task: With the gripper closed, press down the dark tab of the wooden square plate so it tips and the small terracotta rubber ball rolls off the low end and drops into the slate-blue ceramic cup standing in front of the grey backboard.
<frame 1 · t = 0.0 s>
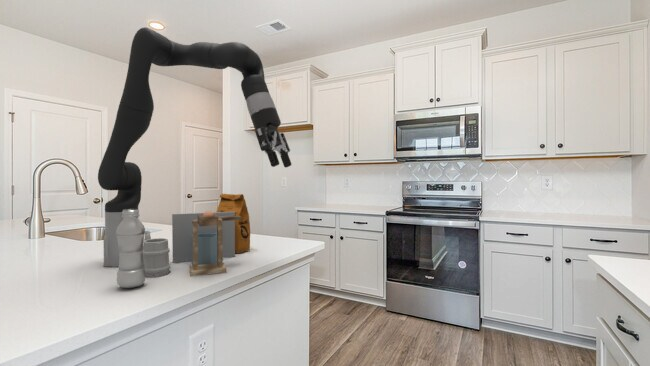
hand: (282, 166, 89), 31 cm above the counter, tool tilted 20°, fingers open, 8 cm apart
ball: (208, 216, 93), point 17 cm above the counter, touching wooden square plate
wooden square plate: (221, 217, 99), point 16 cm above the counter, hinge at 0.0°, touching ball
backboard: (204, 259, 110), on the counter
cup: (205, 263, 106), on the counter
mug: (153, 273, 95), on the counter
stand: (207, 270, 97), on the counter
coffee package: (233, 251, 123), on the counter
plastic bottle: (131, 287, 83), on the counter
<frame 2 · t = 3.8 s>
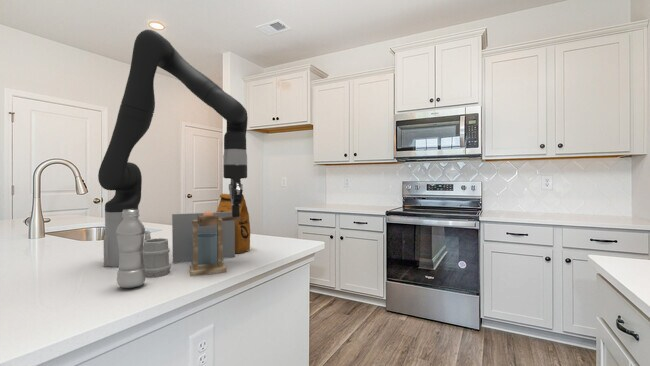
hand: (235, 216, 105), 15 cm above the counter, tool pointing down, fingers closed
ball: (208, 215, 93), point 17 cm above the counter
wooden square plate: (221, 217, 99), point 16 cm above the counter, hinge at 0.7°, touching gripper
everything else where it was.
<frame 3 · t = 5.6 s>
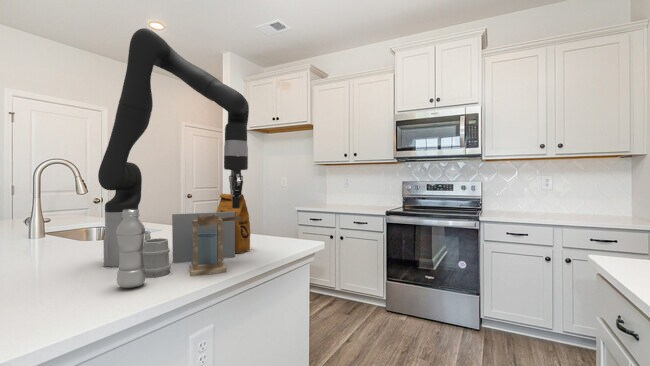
hand: (235, 208, 105), 18 cm above the counter, tool pointing down, fingers closed
ball: (205, 255, 107), point 2 cm above the counter, tilted 134°, touching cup
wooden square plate: (221, 217, 99), point 16 cm above the counter, hinge at 1.6°
everything else where it was.
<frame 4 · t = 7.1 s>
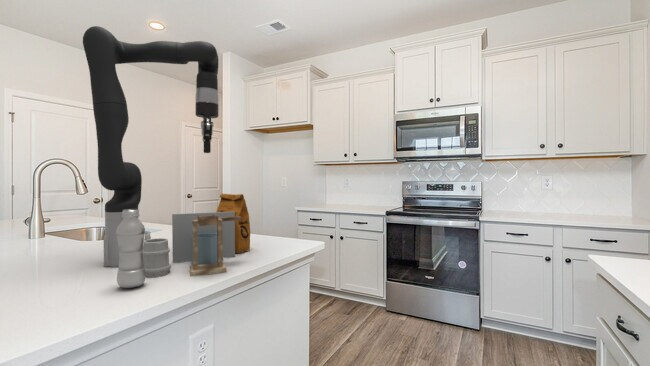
hand: (207, 152, 112), 37 cm above the counter, tool pointing down, fingers closed
ball: (205, 256, 105), point 2 cm above the counter, tilted 62°, touching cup
everything else where it was.
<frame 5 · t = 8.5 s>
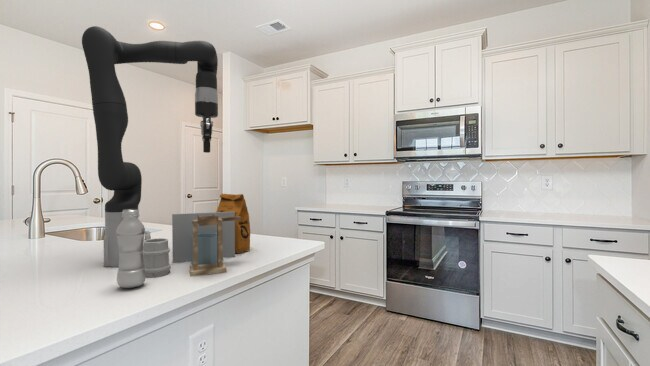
hand: (206, 152, 112), 37 cm above the counter, tool pointing down, fingers closed
ball: (206, 258, 104), point 2 cm above the counter, tilted 5°, touching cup
everything else where it was.
at the end: ball 1.9 cm off-centre on the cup, point 2.1 cm above the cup's base; ball touching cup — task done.
